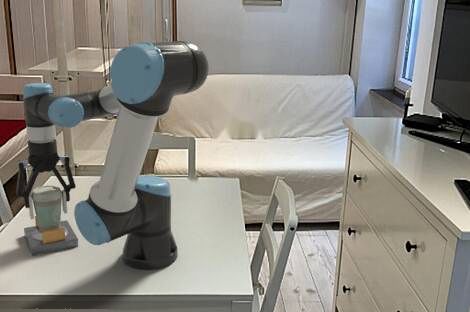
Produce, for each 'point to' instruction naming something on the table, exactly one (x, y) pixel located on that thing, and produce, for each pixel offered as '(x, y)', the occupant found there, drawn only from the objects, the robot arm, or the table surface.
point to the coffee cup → (47, 207)
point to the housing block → (50, 238)
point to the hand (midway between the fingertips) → (48, 214)
